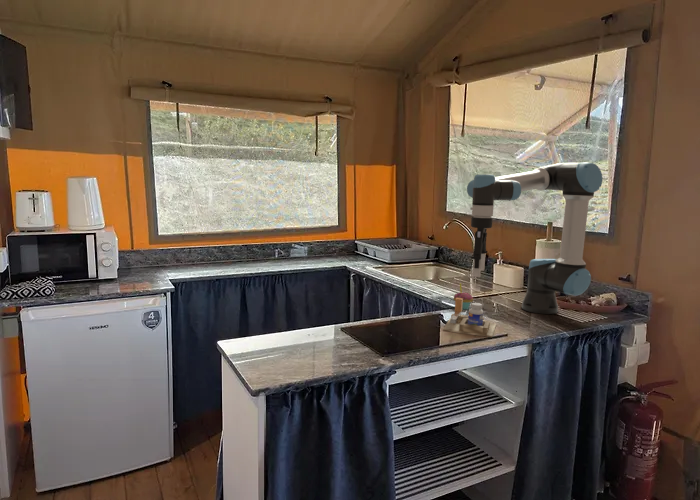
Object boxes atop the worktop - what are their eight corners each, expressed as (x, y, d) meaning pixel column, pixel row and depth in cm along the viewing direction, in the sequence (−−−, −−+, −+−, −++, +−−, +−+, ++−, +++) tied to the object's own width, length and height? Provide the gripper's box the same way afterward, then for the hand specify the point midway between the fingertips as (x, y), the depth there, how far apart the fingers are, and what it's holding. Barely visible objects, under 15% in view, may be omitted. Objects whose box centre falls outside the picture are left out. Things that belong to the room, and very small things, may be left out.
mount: (496, 325, 191) (496, 317, 191) (492, 337, 176) (492, 329, 175) (450, 319, 198) (450, 311, 197) (442, 330, 182) (443, 322, 182)
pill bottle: (464, 328, 183) (466, 303, 182) (471, 325, 187) (472, 301, 186) (478, 332, 180) (480, 306, 178) (484, 328, 184) (486, 304, 182)
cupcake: (458, 311, 210) (460, 284, 208) (449, 306, 218) (451, 280, 216) (476, 310, 212) (477, 283, 211) (466, 305, 220) (468, 279, 219)
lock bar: (461, 314, 193) (462, 298, 192) (456, 323, 180) (457, 306, 179) (455, 313, 194) (456, 297, 193) (449, 322, 181) (450, 305, 180)
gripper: (475, 214, 190) (472, 267, 193) (466, 218, 167) (463, 278, 170) (495, 215, 187) (492, 268, 190) (489, 219, 164) (485, 280, 167)
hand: (478, 273), depth 180 cm, fingers open, 13 cm apart
